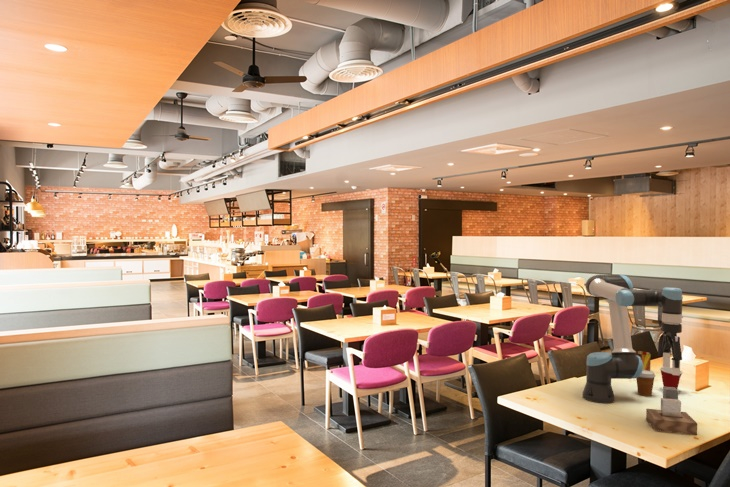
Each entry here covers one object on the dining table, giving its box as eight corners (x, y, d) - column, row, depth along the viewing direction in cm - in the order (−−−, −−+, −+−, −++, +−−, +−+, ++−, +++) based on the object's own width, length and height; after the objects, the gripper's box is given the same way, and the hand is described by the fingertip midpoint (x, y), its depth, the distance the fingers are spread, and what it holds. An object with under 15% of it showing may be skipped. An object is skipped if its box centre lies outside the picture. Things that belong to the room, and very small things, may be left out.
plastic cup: (673, 395, 264) (674, 373, 264) (654, 389, 274) (655, 368, 274) (687, 393, 268) (687, 370, 268) (668, 387, 278) (668, 366, 278)
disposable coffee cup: (635, 395, 263) (636, 373, 263) (633, 390, 272) (633, 368, 272) (656, 398, 260) (656, 375, 259) (653, 392, 268) (653, 370, 268)
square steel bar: (665, 414, 235) (666, 389, 235) (662, 411, 240) (662, 386, 240) (677, 415, 234) (678, 390, 234) (674, 412, 239) (674, 387, 238)
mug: (629, 373, 307) (629, 354, 306) (634, 369, 317) (634, 350, 317) (647, 376, 300) (647, 356, 300) (651, 371, 311) (651, 352, 311)
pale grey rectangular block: (662, 427, 220) (662, 400, 219) (660, 424, 222) (660, 398, 222) (680, 429, 218) (680, 401, 217) (678, 426, 220) (678, 399, 220)
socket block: (654, 430, 215) (654, 419, 215) (646, 419, 229) (646, 408, 229) (697, 435, 211) (697, 423, 211) (685, 423, 224) (686, 412, 224)
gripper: (691, 328, 207) (690, 379, 207) (672, 318, 230) (671, 364, 231) (670, 327, 209) (670, 377, 209) (654, 318, 233) (653, 363, 233)
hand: (671, 371), depth 220 cm, fingers open, 13 cm apart
